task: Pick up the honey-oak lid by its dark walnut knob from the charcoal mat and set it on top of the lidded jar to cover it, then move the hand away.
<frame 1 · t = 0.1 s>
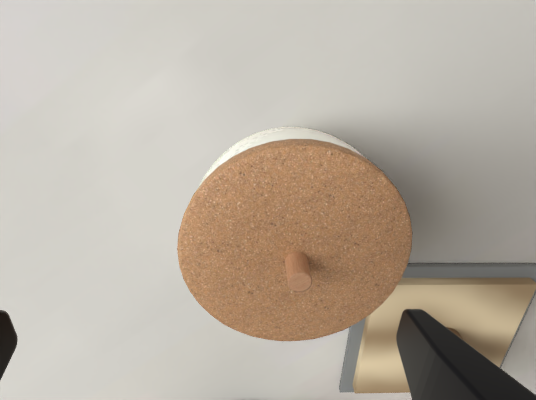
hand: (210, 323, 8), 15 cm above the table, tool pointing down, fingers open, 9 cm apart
lid: (433, 335, 28), resting on mat
lidded jar: (283, 187, 23), on the table
mat: (431, 331, 29), on the table
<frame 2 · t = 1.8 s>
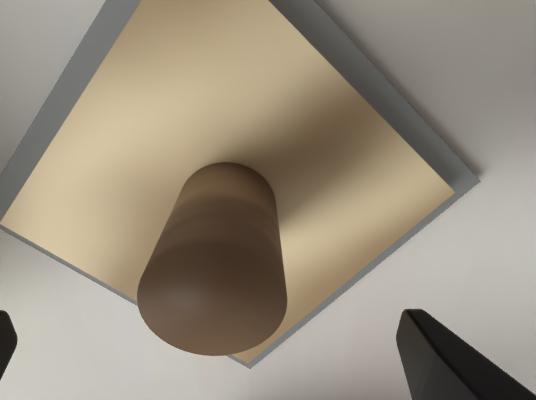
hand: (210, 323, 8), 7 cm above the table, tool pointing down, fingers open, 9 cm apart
lid: (229, 198, 14), resting on mat
mat: (229, 194, 14), on the table
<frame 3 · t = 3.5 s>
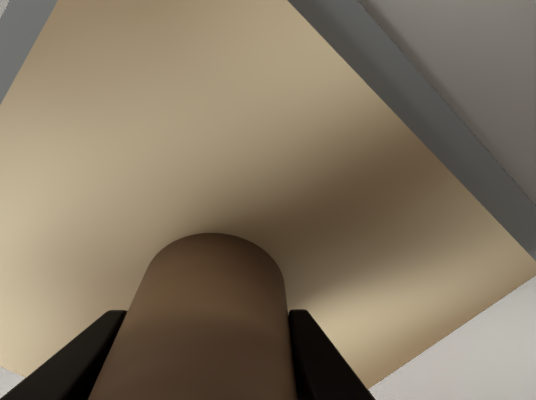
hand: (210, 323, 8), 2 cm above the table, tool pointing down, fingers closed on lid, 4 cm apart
lid: (218, 273, 10), resting on mat, touching gripper
mat: (219, 264, 10), on the table
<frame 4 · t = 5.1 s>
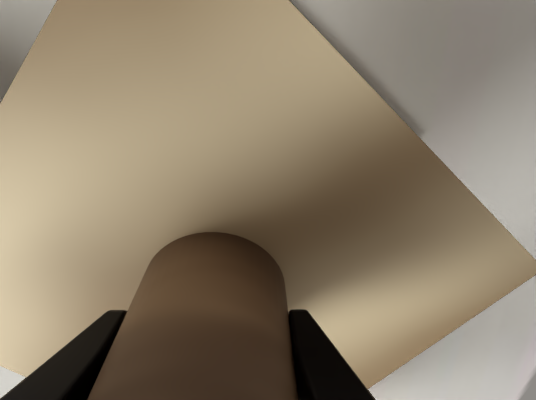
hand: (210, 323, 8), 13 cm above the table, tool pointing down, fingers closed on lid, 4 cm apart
lid: (218, 272, 10), point 11 cm above the table, touching gripper
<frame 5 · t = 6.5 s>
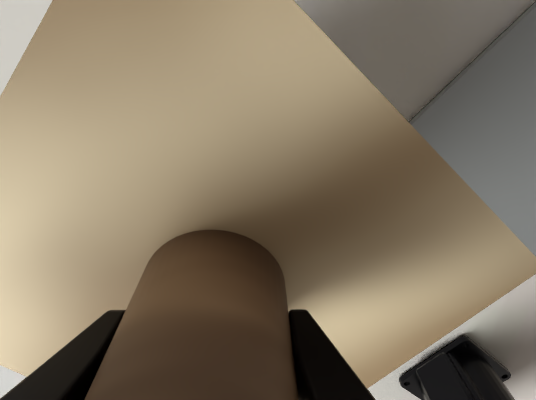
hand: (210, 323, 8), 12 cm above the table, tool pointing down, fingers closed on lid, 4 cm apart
lid: (217, 270, 10), point 11 cm above the table, touching gripper
when the fingers open (12 cm above the table, at t = 7.2 s): lid stays where it is, resting on lidded jar.
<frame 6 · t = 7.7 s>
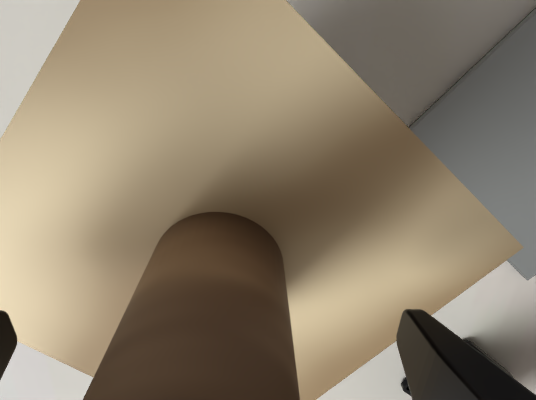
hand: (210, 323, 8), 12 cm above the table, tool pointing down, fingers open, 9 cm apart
lid: (221, 253, 10), point 9 cm above the table, touching lidded jar
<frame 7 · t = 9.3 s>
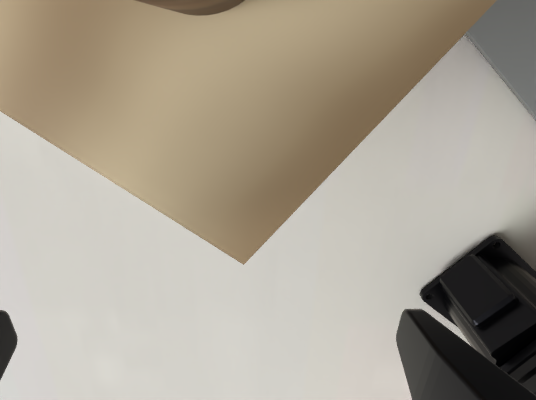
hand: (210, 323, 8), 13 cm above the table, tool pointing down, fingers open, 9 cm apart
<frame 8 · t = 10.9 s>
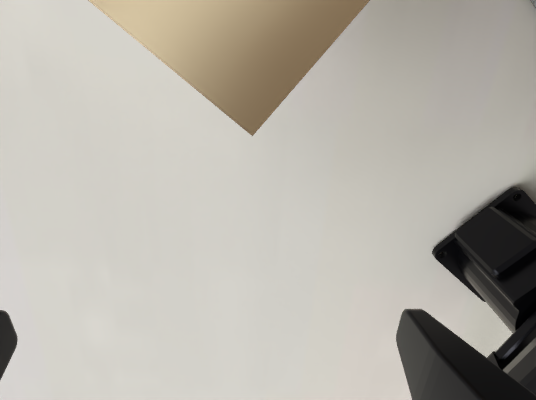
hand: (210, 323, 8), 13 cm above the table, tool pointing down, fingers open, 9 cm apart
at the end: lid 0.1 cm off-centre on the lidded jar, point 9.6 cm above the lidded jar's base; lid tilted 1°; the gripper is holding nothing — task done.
